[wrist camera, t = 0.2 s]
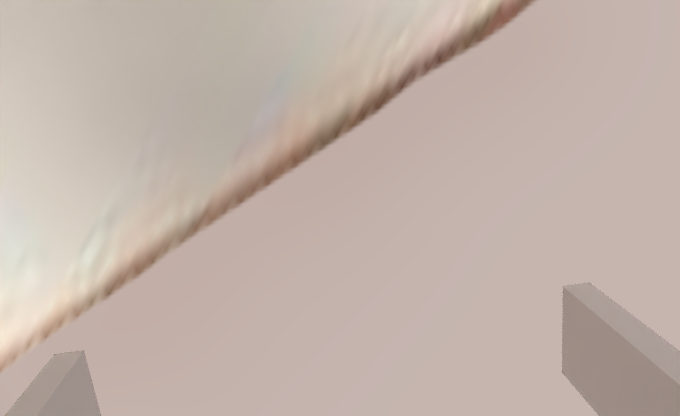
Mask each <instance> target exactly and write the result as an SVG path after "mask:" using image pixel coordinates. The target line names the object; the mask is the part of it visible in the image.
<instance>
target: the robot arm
mask: <svg viewBox="0 0 680 416" xmlns="http://www.w3.org/2000/svg"><path fill="white" fill-rule="evenodd" d="M562 324H563V325H562V327H563V328H562V330H563V331H562V373H563V374H564V376H565V377H566V378H567V379H568V380H569V381H570V383H571V384H572V385H573V386H574V387H575V388H576V389H577V390H578V392H579V393H580V394H581V395H582V397H583V398H584V399H585V400H586V401H587V402H588V403H589V405H590V406H591V407H592V408H593V409H594V411H595V412H596V413H597V414H598V415H599V416H680V351H679V350H678V349H677V348H675V347H674V346H673V345H671V344H670V343H669V342H667V341H666V340H665V339H663V338H662V337H661V336H659V335H658V334H657V333H655V332H654V331H653V330H652V329H650V328H649V327H647V326H646V325H645V324H644V323H642V322H641V321H640V320H638V319H637V318H636V317H634V316H633V315H632V314H630V313H629V312H628V311H626V310H625V309H624V308H622V307H621V306H620V305H618V304H617V303H616V302H615V301H613V300H612V299H611V298H609V297H608V296H606V295H605V294H604V293H603V292H601V291H600V290H598V289H597V288H596V287H595V286H593V285H592V284H591V283H582V284H575V285H567V286H563V323H562ZM5 416H101V414H100V410H99V406H98V403H97V399H96V395H95V391H94V387H93V383H92V379H91V376H90V372H89V368H88V364H87V361H86V357H85V353H84V351H76V352H68V353H60V354H54V356H53V357H52V358H51V359H50V360H49V362H48V363H47V364H46V365H45V367H44V368H43V369H42V371H41V372H40V373H39V374H38V375H37V377H36V378H35V379H34V380H33V381H32V383H31V384H30V385H29V386H28V388H27V389H26V390H25V391H24V393H23V394H22V395H21V396H20V397H19V399H18V400H17V401H16V402H15V404H14V405H13V406H12V407H11V409H10V410H9V411H8V412H7V413H6V415H5Z"/></svg>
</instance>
